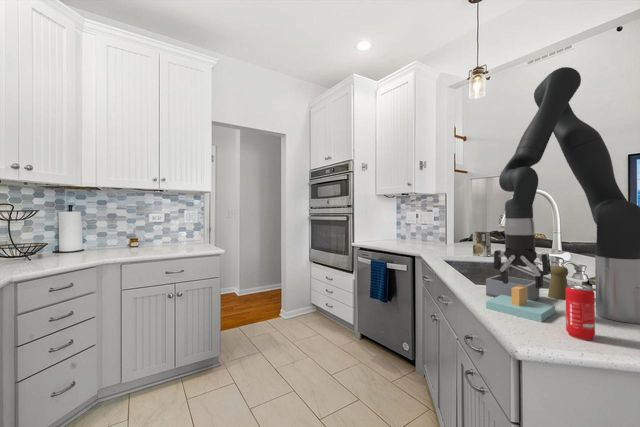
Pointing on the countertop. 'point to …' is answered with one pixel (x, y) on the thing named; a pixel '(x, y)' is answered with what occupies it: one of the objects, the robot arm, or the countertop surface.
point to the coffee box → (481, 243)
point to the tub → (498, 288)
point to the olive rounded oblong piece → (558, 282)
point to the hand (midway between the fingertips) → (521, 285)
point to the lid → (521, 305)
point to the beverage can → (580, 312)
